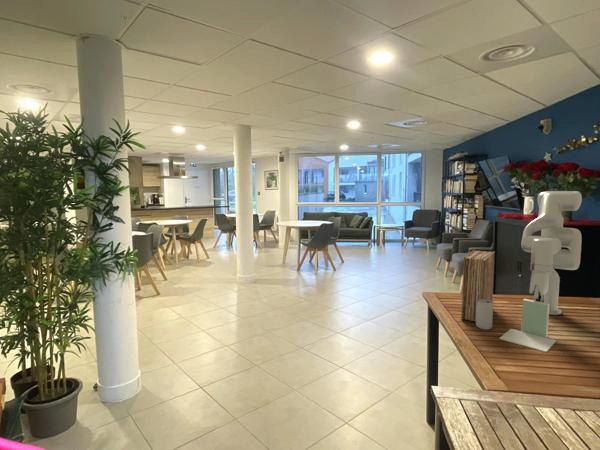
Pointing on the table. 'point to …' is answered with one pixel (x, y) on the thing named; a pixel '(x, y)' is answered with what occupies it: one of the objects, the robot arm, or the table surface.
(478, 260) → the book
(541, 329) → the glazed tile
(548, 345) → the mat
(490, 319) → the beverage can
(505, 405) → the table surface
